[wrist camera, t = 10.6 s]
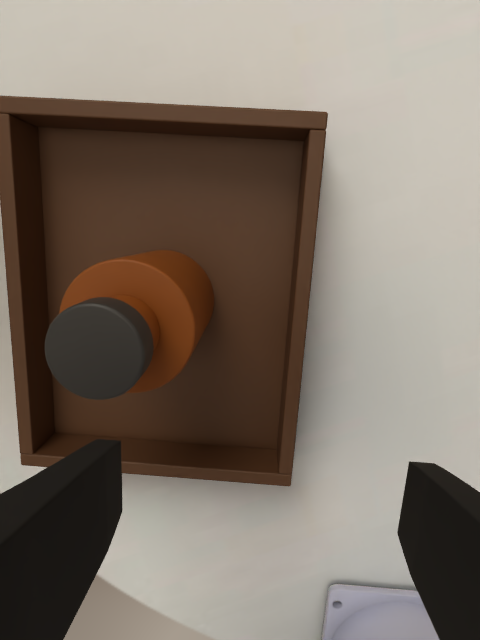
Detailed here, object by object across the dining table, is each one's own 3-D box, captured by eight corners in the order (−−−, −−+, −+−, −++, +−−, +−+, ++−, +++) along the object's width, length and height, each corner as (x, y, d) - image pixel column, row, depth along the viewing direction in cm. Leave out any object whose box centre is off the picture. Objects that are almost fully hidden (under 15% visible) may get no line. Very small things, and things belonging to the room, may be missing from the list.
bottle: (212, 348, 18) (177, 439, 10) (118, 342, 18) (14, 426, 10) (216, 253, 17) (182, 272, 9) (117, 246, 17) (1, 260, 9)
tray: (286, 454, 20) (290, 487, 17) (50, 436, 20) (20, 465, 18) (317, 129, 16) (328, 111, 14) (31, 114, 17) (-9, 94, 14)
